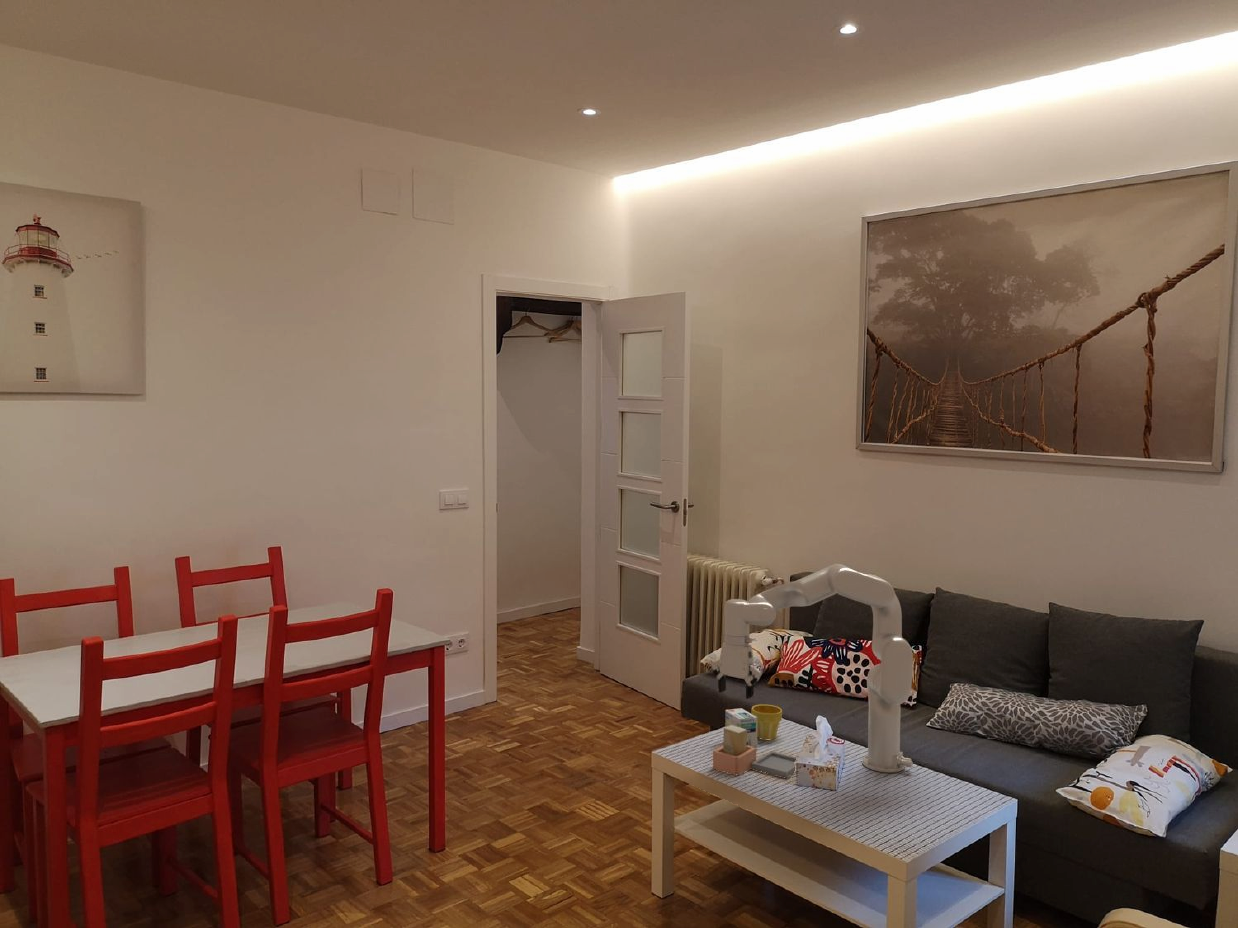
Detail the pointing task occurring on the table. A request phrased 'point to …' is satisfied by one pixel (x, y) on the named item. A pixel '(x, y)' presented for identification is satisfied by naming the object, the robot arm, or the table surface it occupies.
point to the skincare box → (734, 740)
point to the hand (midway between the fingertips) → (735, 694)
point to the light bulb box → (743, 723)
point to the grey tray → (775, 764)
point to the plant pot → (767, 720)
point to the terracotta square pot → (734, 760)
